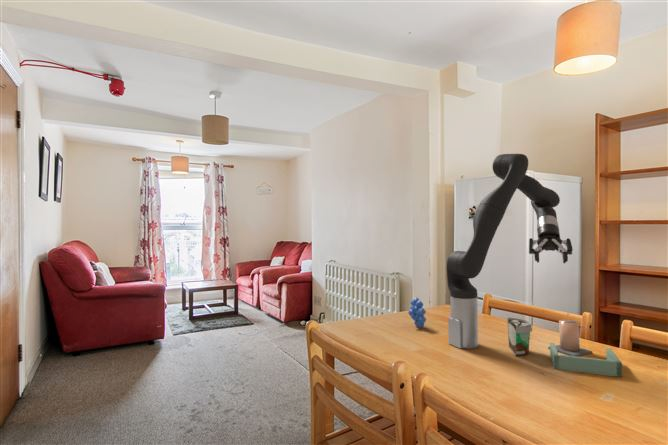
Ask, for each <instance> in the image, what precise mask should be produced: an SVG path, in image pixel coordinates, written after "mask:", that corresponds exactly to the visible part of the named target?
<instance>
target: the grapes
mask: <svg viewBox="0 0 668 445" xmlns="http://www.w3.org/2000/svg"><path fill="white" fill-rule="evenodd" d="M410 305H411V306H410V307H409V311H408V315H409V316H410V318H411V319H412V320H413V321H414V322H413V323H414V325H415V326H416V327H418V326H419V328H424V326H425V323H426V321H427V318H426V317H425V315H426V312H427V311H426V310H425V308H424V303H423V302H422V301H421V300H420V299H419V298H418V297H416V296H415V297H414V298H413V299H412V300H411V301H410Z"/></svg>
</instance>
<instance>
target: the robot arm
mask: <svg viewBox="0 0 668 445" xmlns="http://www.w3.org/2000/svg"><path fill="white" fill-rule="evenodd" d="M528 168H529V159H528V156H527V155H525V154H524V153H503V154H498V155H496V157H494V159H493V162H492V171H493V174H494V175H495V176H496V177H497V178H499V179H500V180H503V181H502V182H501V183H500V184H499V186H497V187H496V188H495V189H493V190H492V191H491V192H489V193H488V194H487V195H485V197H484V198H483V199H481V201H480V203H479V204H478V206H477V209H476V210H475V212H474V214H473V219H472V227H473V237H472V241H471V242H470V245H469V246H468V247H467V250H466V251H464V250H463V251H462V250H455V251H452V252H451V253H450V254H449V255H448V256H447V259H446V278H447V279H446V280H447V287H448V290H449V298H450V300H449V301H450V302H449V303H450V307H449V310H450V316H448V318H447V319H448V320H447V321H448V322H447V323H448V325H447V326H448V329H447V330H448V344H449V345H451V346H454V347H455V348H458V349H475V348H478V347H479V316H478V314H479V313H478V312H479V311H478V309H479V308H478V304H479V303H478V302H479V301H478V290H477V287H475V286H474V285H473V284H472V283H471V282H470V279H475V278H476V277H477V276H478V275H480V273H481V271H482V269H483V267H484V264H485V261H486V258H487V255H488V251H489V250H490V246H491V244H492V242H493V239H494V237H495V234H496V232H497V230H498V228H499V226H500V225H501V223H502V220H503V218H504V215H505V213H506V211H507V209H508V207H509V204H510V202H511V200H512V199H513V196H514V194H515V192H516V191H517V190H519V191H520V192H521V193H522V194H523V195H524V196H525V197H527V198H528V199H529V200H530V205H531V206H532V209H533V210H534V212H535V214H536V220H537V221H536V222H537V223H536V231H537V233H536V234H537V239H534V238H529V240H528V243H529V244H528V254H529V255H534V261H535V262H536V263H540V253H542V252H543V251H547V252H548V251H552V252H554V251H556V252H557V253H559V254H561V256H562V263H563V264H566V263H568V261H569V260H568V259H569V257H568V255H573V245H572V241H571V239H570V238H566V239H563V240H562V239H561V233H560V227H559V222H558V218H557V212H556V210H555V207H557V206H559V204H560V202H561V198H560V196H559V194H558V193H557V191H555V190H553V189H550V188H548V187H546V186H544V185H543V184H541V182H540V181H539V180H537V179H535V178H534V177H532V176H530V175H527V174H526V173H527V172H528ZM536 244H537V246H536V247H535V248H533V247H534V246H535V245H536ZM564 246H565V247H566V248H565V247H564Z"/></svg>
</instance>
